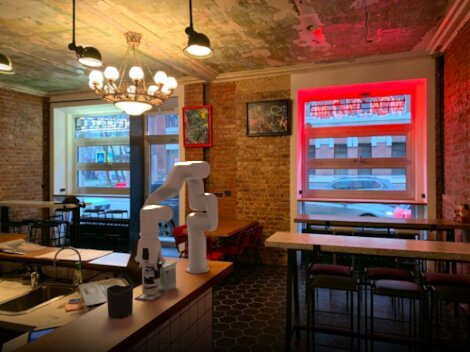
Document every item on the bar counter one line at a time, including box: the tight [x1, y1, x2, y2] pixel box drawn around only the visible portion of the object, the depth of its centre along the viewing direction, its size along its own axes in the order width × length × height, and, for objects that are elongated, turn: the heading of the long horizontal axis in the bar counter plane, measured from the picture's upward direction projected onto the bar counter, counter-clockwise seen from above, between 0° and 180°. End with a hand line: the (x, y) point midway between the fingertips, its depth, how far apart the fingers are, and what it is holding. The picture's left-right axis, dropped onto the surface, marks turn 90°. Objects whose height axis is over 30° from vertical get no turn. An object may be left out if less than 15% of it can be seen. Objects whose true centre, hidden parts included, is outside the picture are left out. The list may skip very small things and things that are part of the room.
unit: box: [158, 260, 178, 295], centre depth 152 cm, size 10×8×12 cm
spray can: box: [141, 248, 158, 295], centre depth 142 cm, size 7×7×20 cm
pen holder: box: [106, 284, 134, 320], centre depth 125 cm, size 9×9×10 cm
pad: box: [134, 293, 166, 303], centre depth 142 cm, size 9×9×1 cm
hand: (150, 277), depth 142 cm, fingers closed on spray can, 6 cm apart
